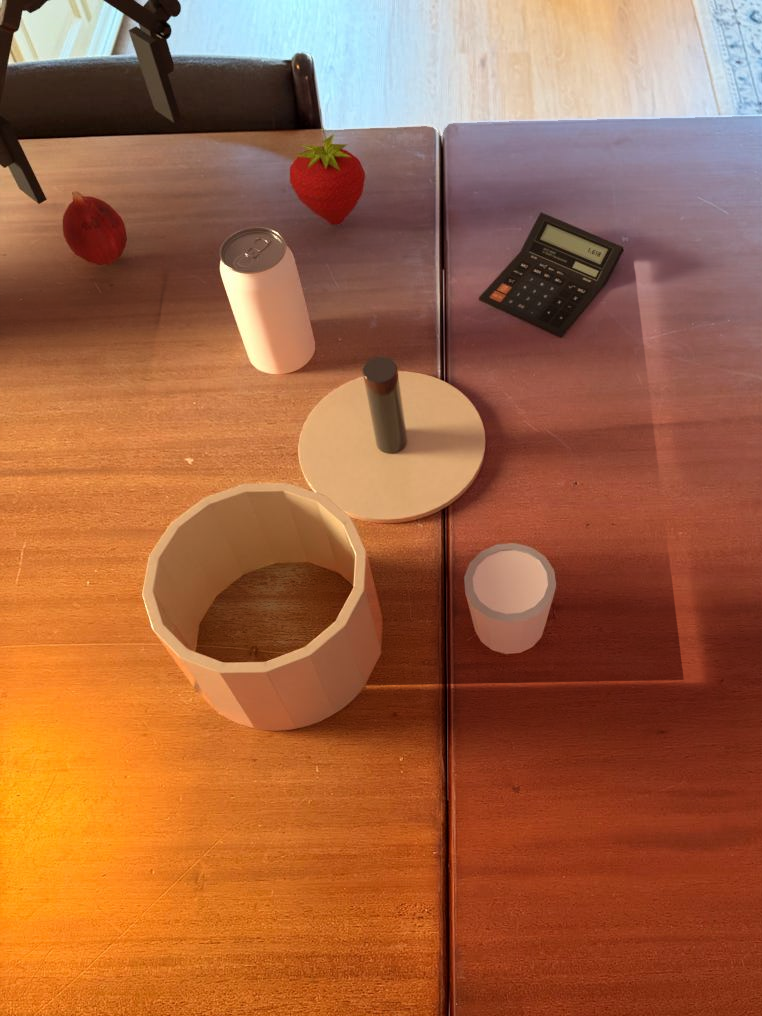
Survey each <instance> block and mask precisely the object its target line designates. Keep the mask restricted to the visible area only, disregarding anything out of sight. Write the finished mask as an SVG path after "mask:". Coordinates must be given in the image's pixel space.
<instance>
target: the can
mask: <svg viewBox="0 0 762 1016" xmlns="http://www.w3.org/2000/svg"><path fill="white" fill-rule="evenodd" d="M219 258H220V263H219V272H220V276H221V280H222V283H223V286H224V289H225V292H226V295H227V299H228V301H229V304H230V309H231V310H232V314H233V317H234V320H235V322H236V325H237V328H238V332H239V334H240V337H241V340H242V342H243V346H244V349H245V352H246V355H247V357H248V360H249V362H250V363H251V365H252V366H253V367H254V368H255V369H256V370H258V371H260V372H263V373H266V374H270V375H286V374H290V373H292V372H296V371H298V370H300V369H302V368H303V367H304V366H306V365H307V364H308V363H309V362H310V360H312V358H313V357H314V354H315V351H316V341H315V337H314V336H315V335H314V332H313V328H312V324H311V319H310V316H309V311H308V307H307V303H306V299H305V295H304V291H303V287H302V282H301V279H300V275H299V272H298V266H297V262H296V259H295V256H294V254H293V252H292V251H291V249H290V247H289V246H288V245H287V243H286V240H285V238H284V237H283V235H282V234H281V233H279V232H278V231H277V230H274V229H273V228H270V227H266V226H258V225H257V226H248V227H244V228H241V229H238V230H236V231H234V232H232V233H230V234H229V235H228V236H227V237H225V239H224V241H222V243H221V245H220V248H219Z"/></svg>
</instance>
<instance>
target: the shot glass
mask: <svg viewBox="0 0 762 1016" xmlns="http://www.w3.org/2000/svg"><path fill="white" fill-rule="evenodd" d="M463 580H464V581H463V582H464V592H465V593H464V594H465V597H466V601H467V605H468V609H469V613H470V616H471V620H472V621H471V622H472V624H473V629H474V632H475V634H476V635H477V637H478V639H479V640H480V642H481V643H482V644H483V645H484V646H486V647H487V648H488V649H490V650H491V651H494V652H496V653H501V654H503V655H510V654H521V653H522V652H525V651H527V650H529V649H531V648H533V647H534V646H535V645H536V644H537V643H538V642H539V640H540V639H541V638H542V636H543V633H544V631H545V627H546V624H547V621H548V617H549V614H550V610H551V606H552V604H553V601H554V600H553V599H554V597H555V593H556V590H557V589H556V588H557V581H556V580H557V579H556V573H555V569H554V568H553V566H552V565H551V563H550V561H549V560H548V558H547V556H545V555H544V554H542V553H541V552H539V551H538V550H536V549H535V548H534V547H532V546H529V545H524V544H521V543H516V542H509V543H496V544H494V545H492V546H490V547H488V548H486V549H483V550H481V551H480V552H479V553H477V555H476V556H474V558H473V559H472V560H471V561H470V562H469V564H468V566H467V568H466V571H465V574H464V576H463Z"/></svg>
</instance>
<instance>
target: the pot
mask: <svg viewBox="0 0 762 1016" xmlns="http://www.w3.org/2000/svg"><path fill="white" fill-rule="evenodd" d="M293 563H294V564H295V563H309V564H313V565H315V566H318V567H321V568H324V569H328V570H329V571H333V572H335V573H338V574H339V575H340V576H341V577H343V578H344V579H345V580H346V581H347V582H348V583H349V584H350V585H352V587H353V588H352V589H351V592H349V595H348V597H347V599H346V600H345V603H344V605H343V606H342V608H341V610H340V612H339V614H338V616H337V617H336V619H335V621H334V622H333V623H331V624H329V626H328V627H327V628H325V630H323V631H322V632H321V633H320V634H318V636H316V637H315V638H313V640H311V641H310V642H309V643H308V644H307V645H305V646H304V647H301V648H298V649H296V650H293V651H290V652H288V653H284V654H282V655H280V656H277V657H274V658H272V659H269V660H267V661H241V662H240V661H239V662H234V661H233V662H224V661H221V660H218V659H216V658H213V657H211V656H208V655H204V654H203V653H200V652H198V651H197V644H198V636H199V632H200V631H199V630H200V624H201V623H202V620H203V619H204V617H205V616H206V614H207V613H208V611H209V609H210V607H211V606H212V604H213V603H214V601H215V599H216V597H217V596H218V595H220V594H221V593H222V592H223V591H224V590H226V589H227V588H228V587H230V586H231V585H233V583H234V582H236V581H237V580H239V579H240V578H241V577H242V576H243V575H246V574H249V573H251V572H254V571H258V570H259V569H262V568H265V567H268V566H271V565H273V564H293ZM141 595H142V599H143V603H144V605H145V609H146V612H147V616H148V620H149V623H150V626H151V629H152V631H153V633H154V635H156V637H157V638H158V640H159V641H160V642H161V643H162V645H163V646H164V648H165V649H166V650H167V652H168V654H169V655H170V657H171V658H172V659H173V660H174V662H175V664H176V665H177V666H178V668H179V669H180V670H181V672H182V673H183V674H184V676H185V677H186V678H187V680H188V681H189V683H190V684H191V685H192V687H193V688H194V690H195V691H196V692H197V693H198V694H199V695H200V696H201V697H202V698H203V699H204V700H205V702H207V704H208V705H209V706H210V708H212V709H213V710H214V711H215V712H216V713H217V714H218V715H220V716H222V717H224V718H226V719H227V720H229V721H232V722H233V723H236V724H238V725H240V726H244V727H247V728H250V729H255V730H261V731H274V732H275V731H276V732H277V731H278V732H279V731H280V732H281V731H291V730H297V729H301V728H305V727H308V726H312V725H315V724H318V723H319V722H322V721H324V720H326V719H328V718H330V717H332V716H334V715H335V714H336V713H338V712H340V711H342V710H343V709H344V708H345V707H346V706H347V705H349V704H350V703H351V702H353V700H354V699H355V698H356V697H357V696H359V694H360V693H361V692H362V691H363V690H364V688H365V687H366V685H367V682H368V680H369V678H370V676H371V674H372V672H373V670H374V668H375V666H376V664H377V662H378V660H379V658H380V657H381V654H382V645H383V641H382V640H383V622H384V621H383V619H384V618H383V614H382V610H381V605H380V602H379V598H378V594H377V590H376V585H375V581H374V577H373V572H372V569H371V564H370V561H369V556H368V552H367V550H366V547H365V545H364V543H363V540H362V538H361V536H360V534H359V531H358V529H357V527H356V524H355V522H354V520H353V518H351V517H349V516H348V515H347V514H346V513H345V512H344V511H342V510H341V509H340V508H339V507H338V506H337V505H335V504H334V503H333V502H332V501H331V500H330V499H328V498H327V497H326V496H325V495H323V494H320V493H317V492H314V491H312V489H311V490H310V489H307V488H304V487H301V486H299V485H295V484H292V483H289V482H253V483H252V482H251V483H248V482H247V483H246V482H245V483H242V484H239V485H235V486H233V487H230V488H227V489H225V490H222V491H218V492H216V493H213V494H211V495H207V496H205V497H203V498H201V500H199V501H197V502H196V503H195V504H194V505H192V506H190V507H189V508H188V509H187V510H186V511H184V512H183V513H182V514H180V515H179V516H178V517H176V518H175V519H174V520H172V521H171V522H170V524H169V525H168V526H167V528H166V530H165V531H164V532H163V534H162V535H161V537H160V538H159V540H158V541H157V543H156V544H155V546H154V548H153V549H152V551H151V552H150V553H149V555H148V559H147V566H146V570H145V576H144V582H143V586H142V593H141ZM196 651H197V652H196Z"/></svg>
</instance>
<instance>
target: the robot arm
mask: <svg viewBox="0 0 762 1016" xmlns="http://www.w3.org/2000/svg"><path fill="white" fill-rule="evenodd" d="M48 1H49V2H50V0H1V4H0V104H1V102H2V97H3V91H4V87H5V81H6V75H7V71H8V66H9V61H10V55H11V49H12V45H13V39H14V34H15V33H16V32H18V31H19V30H20V27H21V21H22V16H23V12H27V13H29V14H33V13H34V12H36V11H38V10H40V9H41V8H42V7H43V6H44V5H45V4H46V3H47V2H48ZM103 2H105V3H106V4H108V5H110V6H111V7H113V8H114V9H115V10H117V11H119V12H120V13H121V14H123V15H125V16H126V17H127V18H129V19H131V20H132V21H134V22H135V23H137V24H138V26H133V27H132V28H129V29H128V34H129V36H130V40H131V42H132V45H133V48H134V51H135V54H136V57H137V60H138V63H139V67H140V69H141V73H142V76H143V79H144V82H145V85H146V87H147V91H148V93H149V97H150V100H151V103H152V106H153V108H154V110H155V111H156V112H158V113H159V114H160V115H162V116H163V117H165V118H166V119H168V120H169V121H170V122H172V123H173V124H176V123H178V122H180V121H181V120H182V116H181V113H180V109H179V106H178V103H177V100H176V96H175V93H174V90H173V86H172V84H171V81H170V80H171V79H170V77H169V74H171V73H172V72H174V69H175V68H174V67H175V66H174V60H173V56H172V54H171V51H170V47H169V43H168V39H169V38H170V37H171V35H172V31H173V30H172V26H171V25H170V23H169V20H170V19H171V17H173V18H176V17H178V16H179V15H180V14H181V12H182V5H181V2H180V1H179V0H146V2H145V4H144V5H142V4H140V3H139V2H138V1H136V0H103ZM0 166H1V167H2V168H3V169H5V168H8V169H9V171H10V173H11V175H12V177H13V179H14V181H15V183H16V185H17V187H18V189H19V190H20V191H21V192H23V193H24V194H25V195H27V197H29V198H31V199H32V200H33V201H34V202H36V204H38V205H40V204H42V203H44V202H45V201H47V196H46V195H45V192H44V191H43V189H42V187H41V184H40V182H39V181H38V178H37V175H36V173H35V172H34V170H33V168H32V165H31V163H30V162H29V160H28V157H27V155H26V153H25V152H24V149H23V147H22V145H21V143H20V141H19V139H18V136H17V135H16V132H15V131H14V129H13V126H12V125H11V122H10V121H9V120H7V119H6V118H5V117H4V116H3V115H1V114H0Z"/></svg>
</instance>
